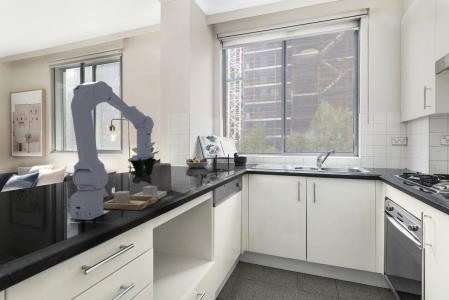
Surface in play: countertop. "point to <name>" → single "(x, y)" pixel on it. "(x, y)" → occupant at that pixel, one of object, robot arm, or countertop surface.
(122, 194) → the stone
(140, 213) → the countertop surface
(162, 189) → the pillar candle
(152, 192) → the stone
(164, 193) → the stoneware dish
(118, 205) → the wooden tray
